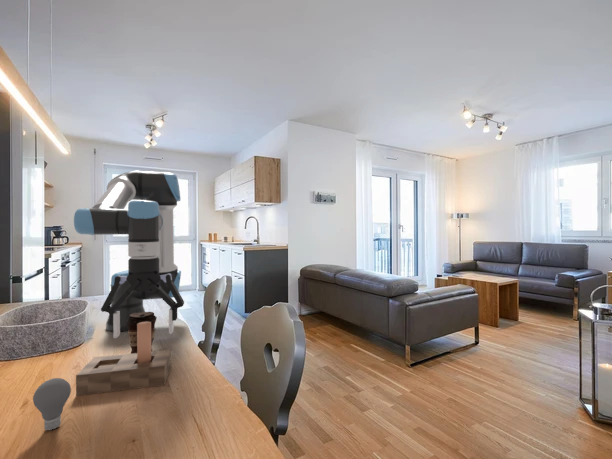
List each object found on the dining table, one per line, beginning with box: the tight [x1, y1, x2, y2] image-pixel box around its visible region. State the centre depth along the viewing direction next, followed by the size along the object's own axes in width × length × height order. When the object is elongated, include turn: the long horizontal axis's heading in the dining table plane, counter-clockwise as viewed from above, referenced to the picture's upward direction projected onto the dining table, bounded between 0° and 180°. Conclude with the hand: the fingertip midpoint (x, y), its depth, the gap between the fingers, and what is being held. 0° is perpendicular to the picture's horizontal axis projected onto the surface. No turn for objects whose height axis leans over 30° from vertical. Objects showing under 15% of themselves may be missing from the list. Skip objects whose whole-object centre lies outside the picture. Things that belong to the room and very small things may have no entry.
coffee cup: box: [127, 311, 157, 354], centre depth 101 cm, size 9×8×13 cm
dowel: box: [137, 322, 151, 364], centre depth 85 cm, size 3×3×14 cm
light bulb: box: [32, 377, 72, 431], centre depth 63 cm, size 6×6×10 cm
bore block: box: [75, 349, 172, 397], centre depth 84 cm, size 11×20×5 cm, turn 105°
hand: (144, 334), depth 85 cm, fingers open, 13 cm apart
